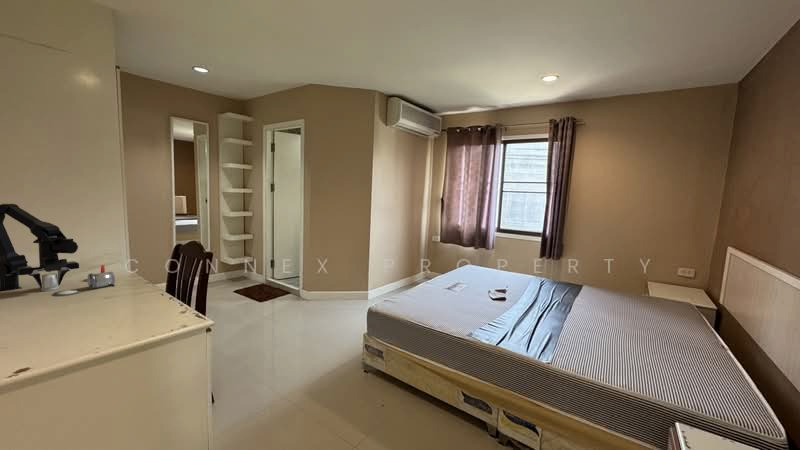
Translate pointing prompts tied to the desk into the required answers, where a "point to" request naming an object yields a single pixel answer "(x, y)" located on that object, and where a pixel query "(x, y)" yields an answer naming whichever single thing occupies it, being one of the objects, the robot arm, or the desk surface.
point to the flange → (67, 292)
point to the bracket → (102, 269)
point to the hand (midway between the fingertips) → (50, 286)
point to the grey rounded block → (101, 280)
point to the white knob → (49, 282)
